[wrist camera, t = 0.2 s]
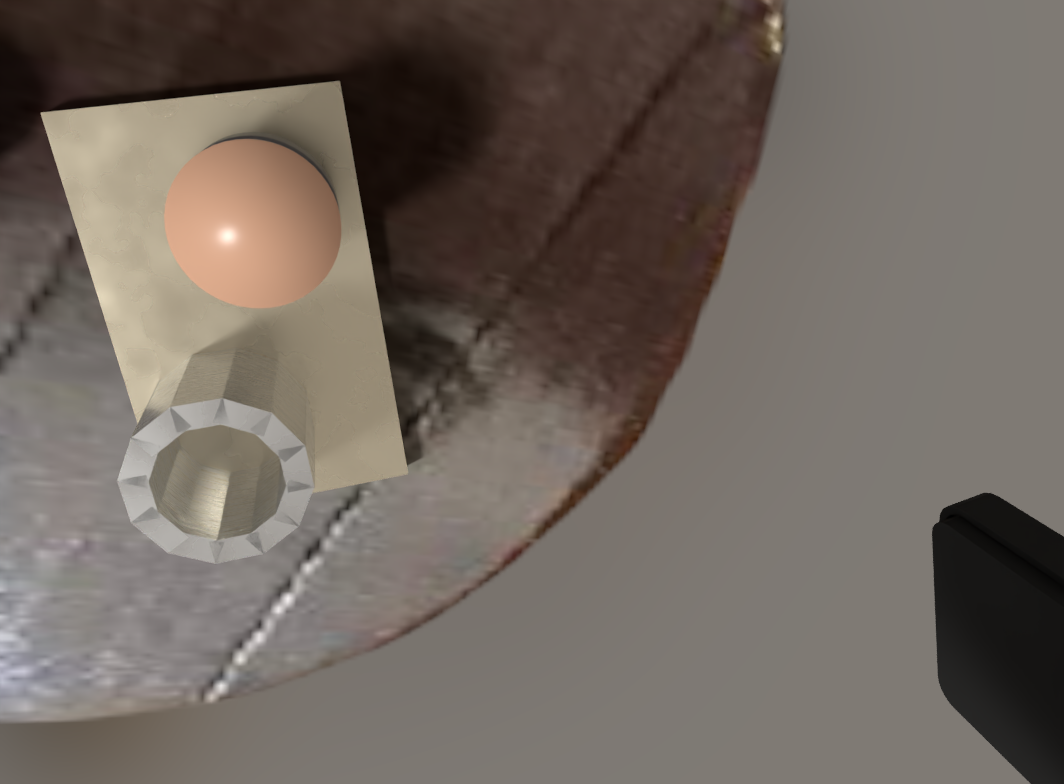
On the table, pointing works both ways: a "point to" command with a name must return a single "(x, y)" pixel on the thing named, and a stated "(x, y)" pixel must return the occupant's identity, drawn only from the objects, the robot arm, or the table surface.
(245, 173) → the peach ball on collar
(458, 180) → the table surface
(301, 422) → the cylinder on base plate
